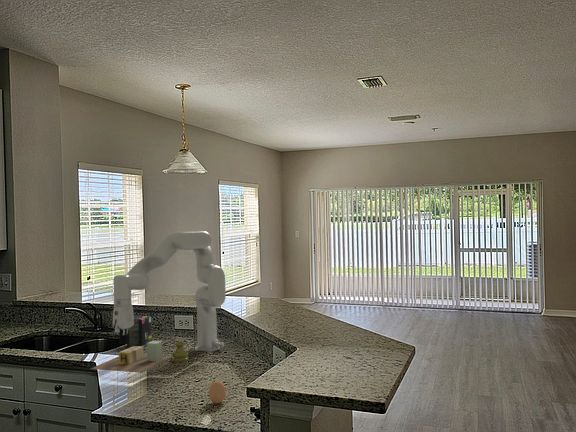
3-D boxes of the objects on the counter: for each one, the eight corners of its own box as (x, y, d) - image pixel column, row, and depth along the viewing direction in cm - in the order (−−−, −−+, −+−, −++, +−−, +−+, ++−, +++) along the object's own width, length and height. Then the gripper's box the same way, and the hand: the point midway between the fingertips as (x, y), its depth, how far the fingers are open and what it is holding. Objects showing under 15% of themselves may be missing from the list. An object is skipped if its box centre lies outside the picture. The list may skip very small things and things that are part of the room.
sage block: (162, 358, 246) (162, 341, 246) (156, 361, 242) (156, 343, 242) (152, 357, 248) (152, 340, 248) (147, 360, 243) (146, 343, 243)
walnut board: (175, 358, 251) (175, 356, 251) (142, 375, 224) (142, 372, 224) (127, 355, 258) (127, 352, 258) (89, 371, 231) (89, 368, 231)
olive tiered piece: (184, 365, 239) (184, 343, 239) (169, 364, 240) (169, 342, 240) (191, 361, 246) (190, 339, 246) (176, 360, 247) (175, 338, 247)
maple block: (128, 364, 238) (143, 357, 249) (128, 352, 238) (143, 346, 249) (118, 363, 239) (134, 356, 251) (118, 352, 239) (134, 346, 251)
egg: (226, 400, 192) (226, 377, 192) (225, 405, 186) (224, 383, 186) (209, 400, 191) (209, 378, 192) (207, 406, 185) (207, 383, 186)
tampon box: (142, 348, 273) (142, 319, 273) (126, 347, 275) (125, 319, 275) (152, 343, 284) (151, 315, 284) (136, 342, 285) (135, 315, 285)
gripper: (119, 305, 230) (120, 348, 230) (139, 300, 245) (140, 340, 245) (105, 304, 233) (105, 347, 233) (125, 299, 247) (125, 339, 247)
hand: (123, 343), depth 239 cm, fingers closed
